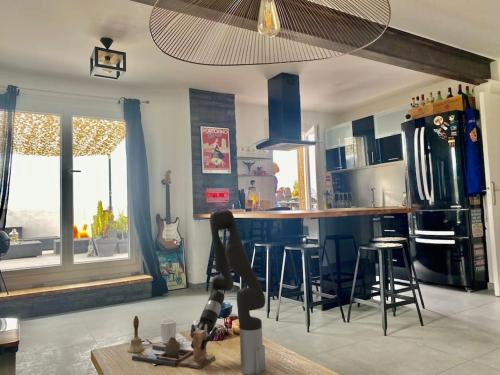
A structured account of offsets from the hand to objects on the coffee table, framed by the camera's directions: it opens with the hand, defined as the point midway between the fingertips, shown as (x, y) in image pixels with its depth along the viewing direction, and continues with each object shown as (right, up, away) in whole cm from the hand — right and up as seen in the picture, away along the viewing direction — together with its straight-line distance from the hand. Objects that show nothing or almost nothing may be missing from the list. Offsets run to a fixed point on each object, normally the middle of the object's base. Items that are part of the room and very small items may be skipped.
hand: (197, 348), depth 163 cm
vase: (-12, -8, +8) cm, 17 cm away
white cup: (-19, -10, +31) cm, 37 cm away
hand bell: (-33, -10, +21) cm, 40 cm away
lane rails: (-17, -8, +10) cm, 21 cm away
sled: (-6, -7, +5) cm, 10 cm away
